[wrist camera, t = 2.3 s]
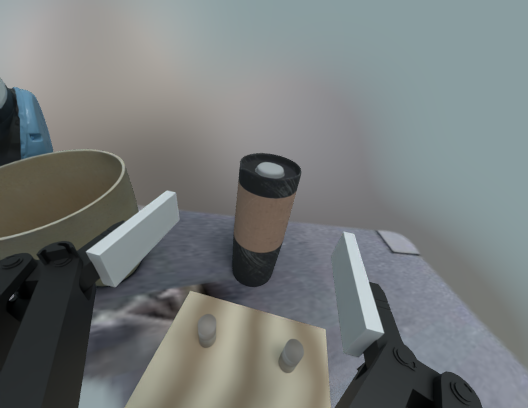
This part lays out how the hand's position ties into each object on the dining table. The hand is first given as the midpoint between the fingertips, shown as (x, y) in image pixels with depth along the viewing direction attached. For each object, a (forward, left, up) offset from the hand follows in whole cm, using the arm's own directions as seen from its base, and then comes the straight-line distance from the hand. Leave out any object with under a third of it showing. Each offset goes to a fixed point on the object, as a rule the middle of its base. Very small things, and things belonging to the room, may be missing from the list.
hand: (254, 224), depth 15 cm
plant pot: (-22, +4, -19) cm, 29 cm away
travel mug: (-1, +10, -19) cm, 22 cm away
